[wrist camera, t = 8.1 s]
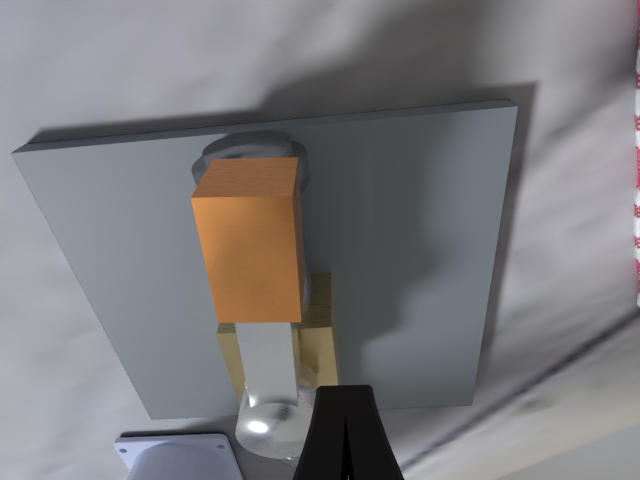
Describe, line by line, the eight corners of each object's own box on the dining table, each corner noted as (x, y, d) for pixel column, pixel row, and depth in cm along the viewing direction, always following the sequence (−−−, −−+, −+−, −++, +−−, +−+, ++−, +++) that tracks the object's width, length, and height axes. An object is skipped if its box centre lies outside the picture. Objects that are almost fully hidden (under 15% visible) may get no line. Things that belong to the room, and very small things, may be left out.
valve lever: (320, 405, 20) (318, 458, 17) (250, 405, 20) (241, 458, 18) (308, 157, 13) (304, 195, 11) (203, 159, 13) (179, 198, 11)
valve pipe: (345, 403, 27) (348, 471, 23) (270, 407, 27) (261, 474, 24) (315, 121, 17) (311, 164, 13) (196, 131, 17) (162, 176, 14)
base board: (467, 391, 27) (471, 405, 26) (156, 405, 28) (151, 419, 27) (508, 99, 17) (518, 106, 16) (25, 144, 18) (10, 153, 17)
